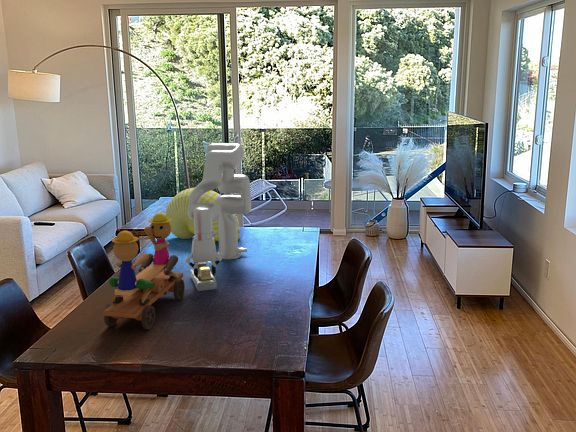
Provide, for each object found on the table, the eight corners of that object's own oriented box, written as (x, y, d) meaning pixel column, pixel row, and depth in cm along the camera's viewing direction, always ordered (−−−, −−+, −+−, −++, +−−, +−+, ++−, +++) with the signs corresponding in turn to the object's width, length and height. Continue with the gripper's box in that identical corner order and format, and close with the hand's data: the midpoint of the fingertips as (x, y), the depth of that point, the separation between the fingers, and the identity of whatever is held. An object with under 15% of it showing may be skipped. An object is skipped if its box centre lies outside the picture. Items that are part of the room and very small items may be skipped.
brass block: (209, 283, 251) (208, 266, 249) (210, 287, 247) (210, 269, 245) (200, 284, 250) (199, 267, 247) (201, 288, 246) (201, 270, 244)
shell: (228, 260, 308) (241, 248, 337) (242, 205, 302) (254, 197, 331) (152, 237, 312) (170, 227, 342) (164, 182, 306) (182, 176, 335)
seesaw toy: (141, 337, 197) (135, 237, 190) (99, 334, 200) (92, 235, 193) (188, 292, 241) (184, 209, 233) (153, 290, 243) (148, 207, 236)
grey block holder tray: (208, 275, 263) (208, 267, 262) (216, 288, 245) (216, 281, 244) (191, 277, 260) (190, 269, 259) (197, 290, 242) (197, 283, 242)
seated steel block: (205, 277, 259) (204, 260, 257) (206, 280, 255) (206, 263, 254) (196, 278, 258) (195, 261, 256) (197, 281, 254) (197, 264, 252)
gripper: (221, 232, 249) (222, 271, 253) (181, 235, 244) (183, 275, 248) (225, 236, 243) (226, 276, 246) (184, 239, 237) (185, 280, 241)
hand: (204, 275), depth 247 cm, fingers open, 6 cm apart
